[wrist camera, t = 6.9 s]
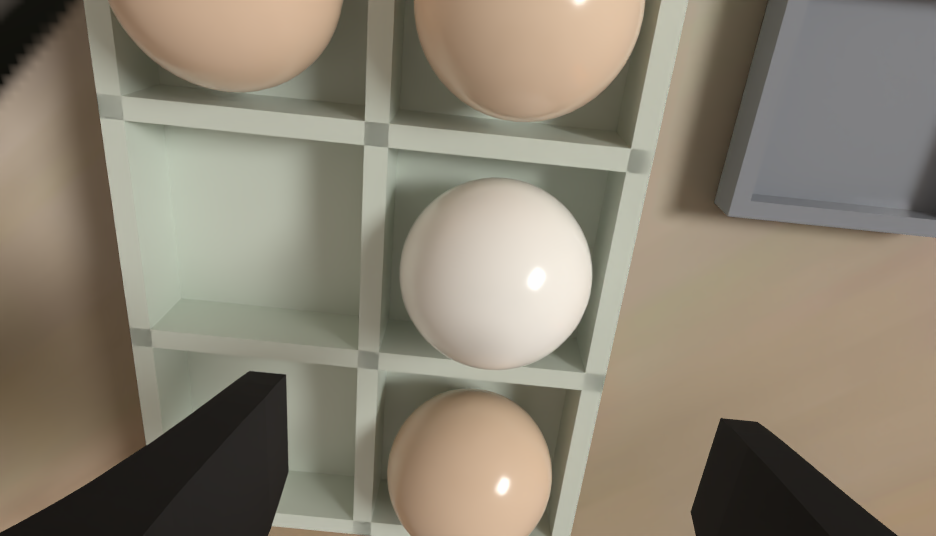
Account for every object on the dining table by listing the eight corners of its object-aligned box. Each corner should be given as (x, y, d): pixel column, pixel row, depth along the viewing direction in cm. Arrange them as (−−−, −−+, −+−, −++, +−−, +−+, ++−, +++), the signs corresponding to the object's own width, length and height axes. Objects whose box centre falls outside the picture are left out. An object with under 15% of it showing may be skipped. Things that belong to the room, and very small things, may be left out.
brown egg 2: (601, 111, 17) (641, 156, 13) (419, 92, 17) (392, 131, 13) (639, -99, 15) (703, -134, 11) (432, -121, 15) (407, -166, 11)
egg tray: (558, 497, 24) (566, 554, 21) (189, 461, 24) (155, 514, 21) (688, -143, 15) (724, -167, 13) (118, -204, 15) (49, -240, 13)
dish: (933, 225, 19) (960, 239, 18) (713, 203, 19) (727, 216, 18) (1035, -17, 16) (1075, -17, 15) (779, -44, 16) (800, -46, 15)
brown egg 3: (534, 483, 23) (545, 609, 18) (395, 469, 23) (371, 592, 18) (555, 365, 21) (574, 473, 16) (402, 350, 21) (377, 454, 16)
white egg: (563, 321, 20) (587, 419, 15) (405, 304, 20) (382, 399, 15) (592, 166, 18) (628, 227, 13) (416, 147, 18) (392, 202, 13)
